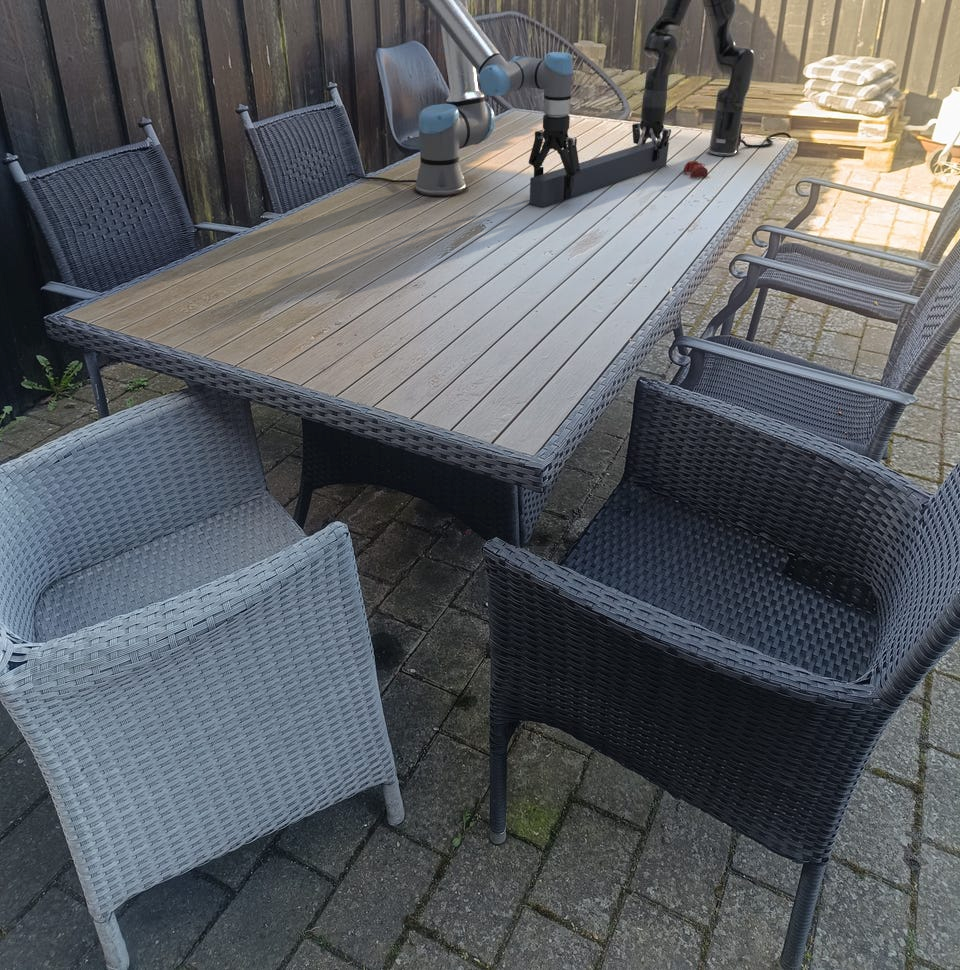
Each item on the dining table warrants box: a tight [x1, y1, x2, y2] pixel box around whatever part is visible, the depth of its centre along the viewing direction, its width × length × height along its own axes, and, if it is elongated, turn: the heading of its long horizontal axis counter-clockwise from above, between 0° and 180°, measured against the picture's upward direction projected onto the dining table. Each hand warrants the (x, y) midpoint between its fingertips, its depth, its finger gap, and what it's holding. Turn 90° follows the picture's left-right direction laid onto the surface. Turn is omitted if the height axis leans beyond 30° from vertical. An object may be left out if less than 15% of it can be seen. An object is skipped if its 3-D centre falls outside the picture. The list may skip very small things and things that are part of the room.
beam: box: [529, 140, 670, 208], centre depth 262 cm, size 63×5×7 cm, turn 135°
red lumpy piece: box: [683, 160, 709, 178], centre depth 270 cm, size 6×4×8 cm
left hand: (552, 194), depth 249 cm, fingers open, 10 cm apart
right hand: (647, 159), depth 276 cm, fingers closed on beam, 5 cm apart
